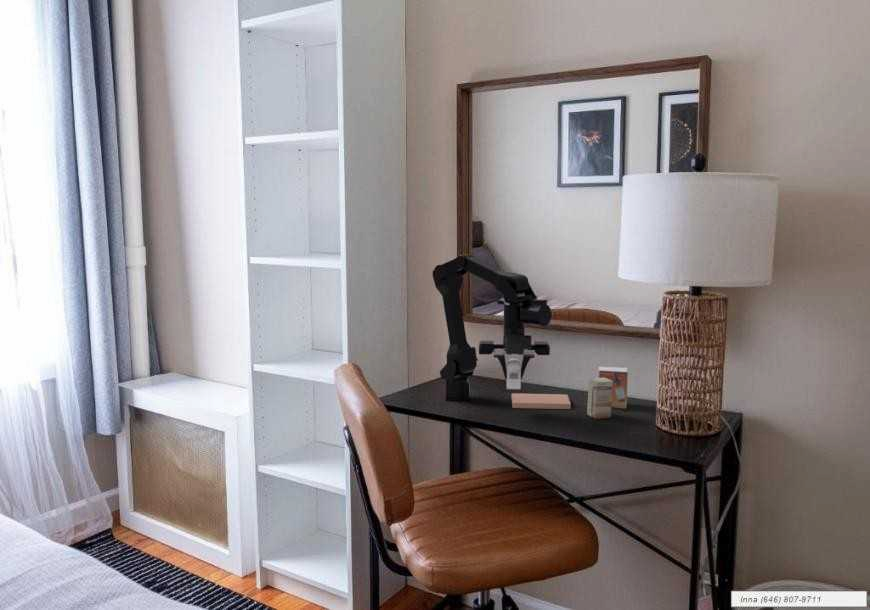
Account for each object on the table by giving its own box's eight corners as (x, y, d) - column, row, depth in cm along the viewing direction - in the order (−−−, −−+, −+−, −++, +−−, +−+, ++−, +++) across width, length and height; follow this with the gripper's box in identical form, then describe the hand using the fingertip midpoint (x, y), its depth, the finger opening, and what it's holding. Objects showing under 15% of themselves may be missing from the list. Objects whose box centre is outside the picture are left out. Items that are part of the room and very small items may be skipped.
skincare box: (595, 419, 190) (596, 382, 188) (586, 414, 194) (587, 378, 192) (612, 417, 191) (613, 380, 190) (603, 412, 195) (604, 376, 194)
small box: (597, 407, 201) (598, 370, 200) (597, 401, 207) (598, 365, 205) (626, 408, 199) (628, 371, 198) (626, 403, 205) (627, 367, 203)
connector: (507, 390, 191) (507, 363, 190) (506, 384, 197) (506, 358, 196) (520, 390, 190) (521, 363, 189) (519, 384, 197) (520, 358, 196)
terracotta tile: (512, 407, 200) (512, 402, 200) (511, 398, 210) (511, 393, 210) (570, 409, 199) (570, 403, 199) (567, 399, 209) (567, 394, 209)
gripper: (478, 326, 185) (478, 386, 187) (551, 327, 183) (550, 387, 185) (479, 319, 196) (479, 376, 198) (548, 320, 194) (547, 377, 196)
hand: (513, 379), depth 194 cm, fingers closed on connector, 4 cm apart
